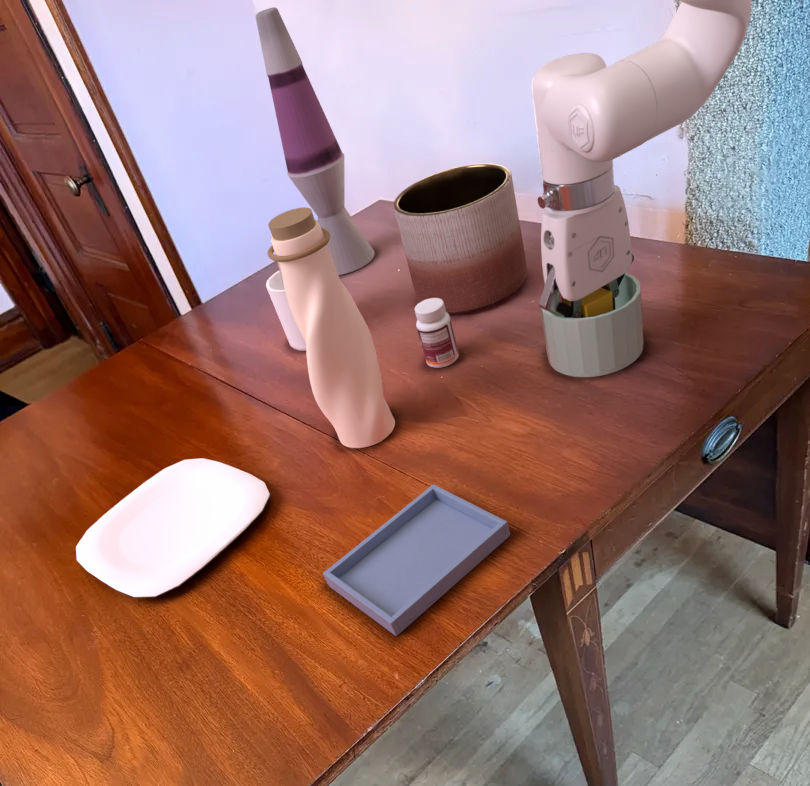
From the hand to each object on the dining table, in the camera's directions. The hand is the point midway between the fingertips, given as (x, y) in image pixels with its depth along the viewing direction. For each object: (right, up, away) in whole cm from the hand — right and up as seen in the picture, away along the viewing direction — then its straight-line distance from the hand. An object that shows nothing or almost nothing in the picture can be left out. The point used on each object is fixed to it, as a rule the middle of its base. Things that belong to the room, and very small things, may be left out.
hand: (591, 332), depth 94 cm
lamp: (-34, +26, +45) cm, 62 cm away
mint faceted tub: (+1, -2, +2) cm, 3 cm away
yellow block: (0, -1, 0) cm, 1 cm away
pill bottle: (-18, -1, +11) cm, 21 cm away
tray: (-22, -28, -17) cm, 40 cm away
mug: (-37, +8, +27) cm, 47 cm away
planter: (-13, +13, +24) cm, 30 cm away
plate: (-52, -25, -2) cm, 58 cm away
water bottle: (-29, -12, +4) cm, 32 cm away
